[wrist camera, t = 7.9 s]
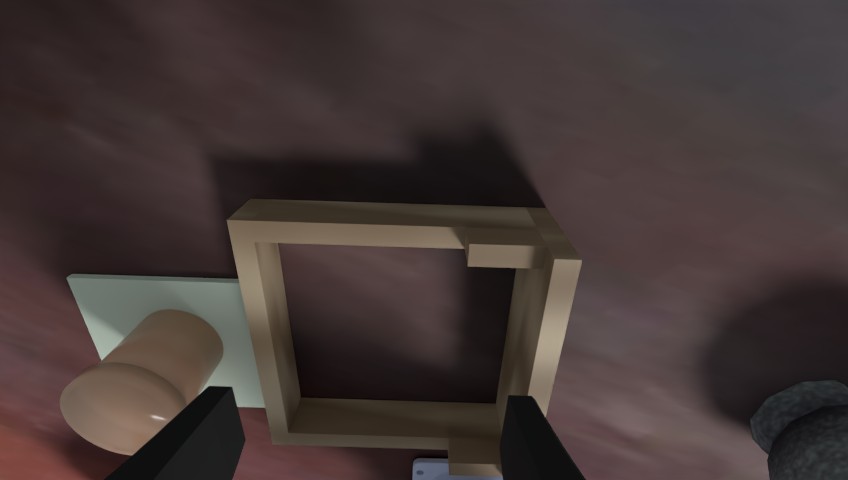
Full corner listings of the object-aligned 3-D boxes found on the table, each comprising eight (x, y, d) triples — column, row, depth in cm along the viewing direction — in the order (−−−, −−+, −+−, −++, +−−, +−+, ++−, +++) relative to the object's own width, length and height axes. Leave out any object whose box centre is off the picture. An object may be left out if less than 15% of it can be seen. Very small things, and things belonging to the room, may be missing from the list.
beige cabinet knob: (234, 378, 24) (189, 457, 19) (147, 374, 24) (81, 453, 19) (219, 307, 22) (164, 378, 17) (122, 303, 21) (41, 373, 17)
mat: (269, 402, 25) (267, 407, 25) (124, 397, 25) (119, 403, 25) (245, 279, 21) (241, 283, 21) (72, 273, 21) (66, 277, 21)
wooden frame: (509, 415, 25) (527, 496, 21) (286, 408, 25) (256, 488, 21) (546, 208, 19) (582, 259, 15) (250, 198, 19) (195, 248, 15)
